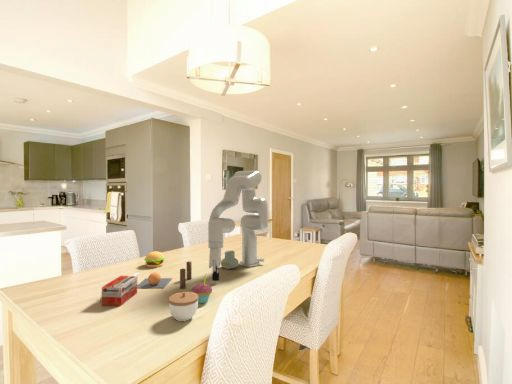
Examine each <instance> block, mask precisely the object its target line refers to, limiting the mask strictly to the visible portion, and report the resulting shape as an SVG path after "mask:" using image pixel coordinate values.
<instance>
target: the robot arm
mask: <svg viewBox="0 0 512 384" xmlns="http://www.w3.org/2000/svg"><path fill="white" fill-rule="evenodd" d="M261 182H262V173H261V172H260V171H258V170H238V171H236V172H234V174H233V176H231V177H230V178H229V179H228V182H227V185H226V189H225V192H224V195H223V199H222V200H220V201H219V202H218V203H217V204H216V205H215V206H214V207H213V209H212V210H211V213H210V216H209V218H208V219H209V220H208V225H207V227H208V229H207V232H208V233H207V234H208V235H207V236H208V238H207V240H208V241H207V246H208V248H209V256H208V257H209V259H208V268H209V269H211V270H212V273H211V275H212V278H211V280H212V282H218V281H219V280H220V271H219V269H220V266H221V261H222V249H223V248H224V234H226V233H232V232H233V231H234V230H235V229H236V223H235V221H234V219H231V218H230V217H229V218H227V217H226V218H225V217H220V216H221V214H223V212H225V211H226V210H229V209H231V208H233V207H235V206H236V205H239V200H240V197H241V201H242V202H241V203H242V204H241V205H242V211H243V212H245V213H247V214H243V216H242V217H241V219H240V227H241V260H240V261H239V265H240V266H242V267H251V268H252V267H257V266H259V265H260V262H263V263H264V262H265V258H262V257H258V236H257V232H256V231H266V230H267V229H268V226H269V214H268V213H269V211H268V209H269V208H268V207H269V206H268V202H267V200H266V199H265V198H264V197H257V196H256V189H255V188H256V187H257V186H259V185H260V184H261ZM248 213H249V214H248ZM250 213H251V214H250Z"/></svg>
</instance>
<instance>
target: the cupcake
mask: <svg viewBox="0 0 512 384" xmlns="http://www.w3.org/2000/svg"><path fill="white" fill-rule="evenodd" d="M206 281H207V274H205V275H204V278H203V283H199V284H196V285H195V286H193V287H192V289H191V292H194V293H196V294H198V296H199V298H198V304H205V303H207V302H208V301H209V297H210V296H211V294H212V292H213V288H212V287H211V285H209V284H207V283H206Z"/></svg>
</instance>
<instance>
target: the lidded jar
mask: <svg viewBox="0 0 512 384" xmlns="http://www.w3.org/2000/svg"><path fill="white" fill-rule="evenodd" d="M198 298H199V296H198V294H196V293H194V292H192V291H180V292H177V293H173V294H172V295H170V296H169V297H168V310H169V313H170V315H171V316H172V318H173V319H176V320H178V321H177V322H179V321H184V322H186V321H185V320H188V321H190V320H191V319H192V318H193V317H194V316H195V315H196V313H197V311H198V307H199V303H198ZM189 319H190V320H189ZM176 320H175V321H176Z"/></svg>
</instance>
